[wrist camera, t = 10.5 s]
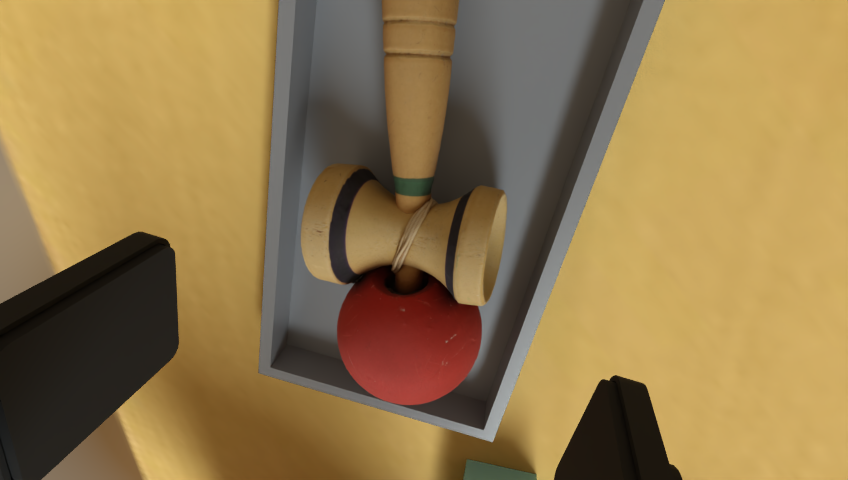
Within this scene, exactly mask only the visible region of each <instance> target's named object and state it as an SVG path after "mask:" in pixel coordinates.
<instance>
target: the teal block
mask: <svg viewBox="0 0 848 480" xmlns="http://www.w3.org/2000/svg"><path fill="white" fill-rule="evenodd" d="M463 480H537V478H536V474H532V473H528V472H523V471H519V470H514V469H510V468H505V467H501V466H496V465H492V464H487V463H483V462H478V461H473V460H469V459H467V462H466V467H465V472H464V477H463Z"/></svg>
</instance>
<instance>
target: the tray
mask: <svg viewBox="0 0 848 480" xmlns="http://www.w3.org/2000/svg"><path fill="white" fill-rule="evenodd" d="M664 1H665V0H459V7H458V16H457V23H456V25H455V26H454V28H455V41H454V51H453V54H452V55H451V57H450V58H451V60H452V70H451V79H450V87H449V95H448V102H447V109H446V116H445V122H444V128H443V134H442V139H441V146H440V151H439V155H438V161H437V166H436V171H435V176H434V181H433V185H432V189H431V198H432V199H434V200H435V201H437V202H438V204H441V203H446V202H450V201H453V200H455V199H458V198H460V197H462V196H463V195H465V194H467V193H468V192H470V191H471V190H472V189H474V188H476V187H477V186H480V185H483V186H488V187H492V188H497V189H501V190H504V192H505V194H506V196H507V219H506V231H505V237H504V238H505V239H504V246H503V251H502V257H501V262H500V267H499V271H498V275H497V279H496V283H495V286H494V289H493V292H492V295H491V297H490V299H489V301H488V302H487V303H486V304H485V305H483V306H478V307H479V311H480V315H481V320H482V339H481V345H480V350H479V353H478V356H477V359H476V361H475V363H474V365H473V367H472V369H471V371H470V372H469V374H468V375H467V377H465V379H464V380H463V381H462V382H461V383H460V384H459V385H458V386H457V387H456V388H455V389H453V390H452V391H451V392H449V393H448V394H446V395H444V396H442V397H441V398H439V399H436V400H434V401H431V402H428V403H423V404H418V405H401V404H395V403H391V402H387V401H384V400H382V399H379V398H377V397H375V396H374V395H372V394H370V393H369V392H367V391H366V390H365V389H364V388H362V387H361V386H360V385H359V384H358V383H357V382H356V381H355V380H354V379H353V377H352V376H351V375H350V373H349V371H348V370H347V369H346V367H345V364H344V363H343V360H342V357H341V355H340V351H339V347H338V341H337V322H338V317H339V312H340V309H341V306H342V303H343V301H344V299H345V297H346V295H347V294H348V292H349V291H350V289H351V288H352V286H353V285H354V284H355V283H354V284H353V283H350V284H346V285H341V284H337V283H333V282H329V281H325V280H321V279H318V278H316V277H314V276H313V275H312V273H311V272H310V271H309V270H308V268H307V266H306V264H305V261H304V258H303V254H302V248H301V224H302V217H303V212H304V207H305V204H306V200H307V197H308V195H309V192H310V190H311V188H312V186H313V184H314V182H315V180H316V179H317V177H318V176H319V175H320V174H321V173H322V171H323V170H324V169H325V168H327V167H328V166H330V165H332V164H337V163H340V164H353V165H363V166H366V167H368V168H369V169H370V170H371V171H372V172H373V174H374V175H375V177H376V178H377V180H378V181H379V182H380V183H381V185H382V186H383V187H384V188H385V189H386V190H388V191H389V192H390V193H392V194H393V195H395V186H394V180H393V171H392V163H391V154H390V144H389V136H388V127H387V114H386V100H385V80H384V56H385V55H386V53H385V52H384V50H383V24H384V22H383V19H382V0H279V9H278V28H277V46H276V64H275V82H274V100H273V118H272V136H271V154H270V173H269V191H268V209H267V227H266V245H265V263H264V281H263V299H262V317H261V336H260V354H259V372H258V373H260V374H263V375H266V376H270V377H273V378H277V379H280V380H283V381H287V382H290V383H294V384H297V385H300V386H304V387H307V388H310V389H314V390H317V391H321V392H324V393H327V394H331V395H334V396H338V397H341V398H344V399H348V400H351V401H354V402H358V403H361V404H365V405H368V406H371V407H375V408H378V409H382V410H385V411H388V412H392V413H395V414H398V415H402V416H405V417H409V418H412V419H415V420H419V421H422V422H426V423H429V424H432V425H436V426H439V427H442V428H446V429H449V430H453V431H456V432H459V433H463V434H466V435H470V436H473V437H476V438H480V439H483V440H487V441H490V442H493V440H494V438H495V435H496V432H497V430H498V427H499V425H500V422H501V420H502V417H503V414H504V412H505V409H506V407H507V404H508V402H509V399H510V396H511V394H512V391H513V389H514V386H515V384H516V381H517V379H518V376H519V373H520V371H521V368H522V366H523V363H524V361H525V358H526V355H527V353H528V350H529V348H530V345H531V343H532V340H533V337H534V335H535V332H536V330H537V327H538V325H539V322H540V320H541V317H542V314H543V312H544V309H545V307H546V304H547V302H548V299H549V296H550V294H551V291H552V289H553V286H554V284H555V281H556V278H557V276H558V273H559V271H560V268H561V266H562V263H563V261H564V258H565V255H566V253H567V250H568V248H569V245H570V243H571V240H572V237H573V235H574V232H575V230H576V227H577V225H578V222H579V219H580V217H581V214H582V212H583V209H584V207H585V204H586V202H587V199H588V196H589V194H590V191H591V189H592V186H593V184H594V181H595V178H596V176H597V173H598V171H599V168H600V166H601V163H602V160H603V158H604V155H605V153H606V150H607V148H608V145H609V143H610V140H611V137H612V135H613V132H614V130H615V127H616V125H617V122H618V119H619V117H620V114H621V112H622V109H623V107H624V104H625V101H626V99H627V96H628V94H629V91H630V89H631V86H632V83H633V81H634V78H635V76H636V73H637V71H638V68H639V66H640V63H641V60H642V58H643V55H644V53H645V50H646V48H647V45H648V42H649V40H650V37H651V35H652V32H653V30H654V27H655V24H656V22H657V19H658V17H659V14H660V12H661V9H662V7H663V4H664Z"/></svg>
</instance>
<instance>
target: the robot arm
mask: <svg viewBox="0 0 848 480" xmlns="http://www.w3.org/2000/svg"><path fill="white" fill-rule="evenodd" d="M178 345H179V336H178V312H177V288H176V263H175V252H174V250H173V249H172V248H170V244H169V242H168V241H167V240H166V239H164V238H160V237H157V236H154V235H151V234H147V233H144V232H136V233H134V234H132V235H130V236H128V237H126V238H124V239H122V240H120V241H118V242H117V243H115V244H113V245H111V246H109V247H107V248H105V249H103V250H101V251H100V252H98V253H96V254H94V255H92V256H90V257H88V258H86V259H84V260H82V261H81V262H79V263H77V264H75V265H73V266H71V267H69V268H67V269H65V270H63V271H62V272H60V273H58V274H56V275H54V276H52V277H50V278H48V279H47V280H45V281H43V282H41V283H39V284H37V285H35V286H33V287H31V288H29V289H28V290H26V291H24V292H22V293H20V294H18V295H16V296H14V297H12V298H11V299H9V300H7V301H5V302H3V303H1V304H0V480H41V479H42V478H43V477H44V476H46V475H47V474H48V473H49V472H50V471H51V470H52V469H53V468H54V467H55V466H56V465H57V464H59V463H60V462H61V461H62V460H63V459H64V458H65V457H66V456H67V455H68V454H69V453H70V452H72V451H73V450H74V449H75V448H76V447H77V446H78V445H79V444H80V443H81V442H82V441H83V440H84V439H86V438H87V437H88V436H89V435H90V434H91V433H92V432H93V431H94V430H95V429H96V428H98V427H99V426H100V425H101V424H102V423H103V422H104V421H105V420H106V419H107V418H108V417H109V416H110V415H112V414H113V413H114V412H115V411H116V410H117V409H118V408H119V407H120V406H121V405H122V404H123V403H125V402H126V401H127V400H128V399H129V398H130V397H131V396H132V395H133V394H134V393H135V392H136V391H138V390H139V389H140V388H141V387H142V386H143V385H144V384H145V383H146V382H147V381H148V380H149V379H151V378H152V377H153V376H154V375H155V374H156V373H157V372H158V371H159V370H160V369H161V368H162V367H164V366H165V365H166V364H167V363H168V362H169V361H170V360H171V359H172V358H173V357H174V355H175V353H176V351H177V349H178ZM554 480H682V477H681V475H680V473H679V470H678V469H677V468H676V467H675V466H674V465H671V464H669V461H668V458H667V454H666V451H665V447H664V444H663V441H662V437H661V434H660V430H659V427H658V424H657V420H656V417H655V414H654V410H653V407H652V403H651V400H650V397H649V393H648V390H647V387H646V385H644V384H643V383H640V382H637V381H633V380H630V379H627V378H623V377H620V376H617V375H615V376H613V377H611V379H610V380H609V381H608V380H604V379H602V380H601V381H600V382H599V384H598V386H597V388H596V390H595V392H594V394H593V396H592V398H591V400H590V402H589V404H588V406H587V408H586V410H585V412H584V414H583V416H582V418H581V420H580V422H579V424H578V426H577V428H576V430H575V432H574V434H573V436H572V438H571V440H570V442H569V444H568V446H567V448H566V450H565V452H564V454H563V456H562V458H561V460H560V462H559V464H558V467H557V469H556V473H555V477H554Z"/></svg>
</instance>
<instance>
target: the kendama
mask: <svg viewBox="0 0 848 480" xmlns="http://www.w3.org/2000/svg"><path fill="white" fill-rule="evenodd" d="M458 7H459V0H382V19H383V22H384V24H383V50H384V52H385V53H386V55H385V56H384V80H385V100H386V114H387V127H388V136H389V144H390V154H391V163H392V171H393V180H394V186H395V195H393V194H392V193H390V192H389V191H388V190H386V189H385V188H384V187H383V186H382V185H381V183H380V182H379V181H378V180H377V178H376V177H375V175H374V174H373V172H372V171H371V170H370V169H369V168H368V167H366V166H363V165H353V164H340V163H337V164H332V165H330V166H328V167H327V168H325V169H324V170H323V171H322V173H321V174H320V175H319V176H318V177H317V179H316V180H315V182H314V184H313V186H312V188H311V190H310V192H309V195H308V197H307V200H306V204H305V207H304V212H303V217H302V224H301V248H302V254H303V258H304V261H305V264H306V266H307V268H308V270H309V271H310V272H311V273H312V275H313V276H314V277H316V278H318V279H321V280H325V281H329V282H333V283H337V284H341V285H346V284H350V283H353V284H354V283H355V284H354V285H353V286H352V288H351V289H350V291H349V292H348V294H347V295H346V297H345V299H344V301H343V303H342V306H341V309H340V312H339V317H338V322H337V341H338V347H339V351H340V355H341V357H342V360H343V363H344V364H345V367H346V369H347V370H348V371H349V373H350V375H351V376H352V377H353V379H354V380H355V381H356V382H357V383H358V384H359V385H360V386H361V387H362V388H364V389H365V390H366V391H367V392H369V393H370V394H372V395H374V396H375V397H377V398H379V399H382V400H384V401H387V402H391V403H395V404H401V405H418V404H423V403H428V402H431V401H434V400H436V399H439V398H441V397H442V396H444V395H446V394H448V393H449V392H451V391H452V390H453V389H455V388H456V387H457V386H458V385H459V384H460V383H461V382H462V381H463V380H464V379H465V377H467V375H468V374H469V372H470V371H471V369H472V367H473V365H474V363H475V361H476V359H477V356H478V353H479V350H480V345H481V339H482V320H481V315H480V311H479V307H478V306H483V305H485V304H486V303H487V302H488V301H489V299H490V297H491V295H492V292H493V289H494V286H495V283H496V279H497V275H498V271H499V267H500V262H501V257H502V251H503V246H504V239H505V238H504V237H505V231H506V219H507V196H506V194H505V192H504V190H501V189H497V188H492V187H488V186H483V185H480V186H477V187H476V188H474V189H472V190H471V191H470V192H468V193H467V194H465V195H463V196H462V197H460V198H458V199H455V200H453V201H450V202H446V203H441V204H438V202H437V201H435V200H434V199H432V198H431V189H432V185H433V181H434V176H435V171H436V166H437V161H438V155H439V151H440V146H441V139H442V134H443V128H444V122H445V116H446V109H447V102H448V95H449V87H450V79H451V70H452V60H451V58H450V57H451V55H452V54H453V51H454V41H455V28H454V26H455V25H456V23H457V16H458Z"/></svg>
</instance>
